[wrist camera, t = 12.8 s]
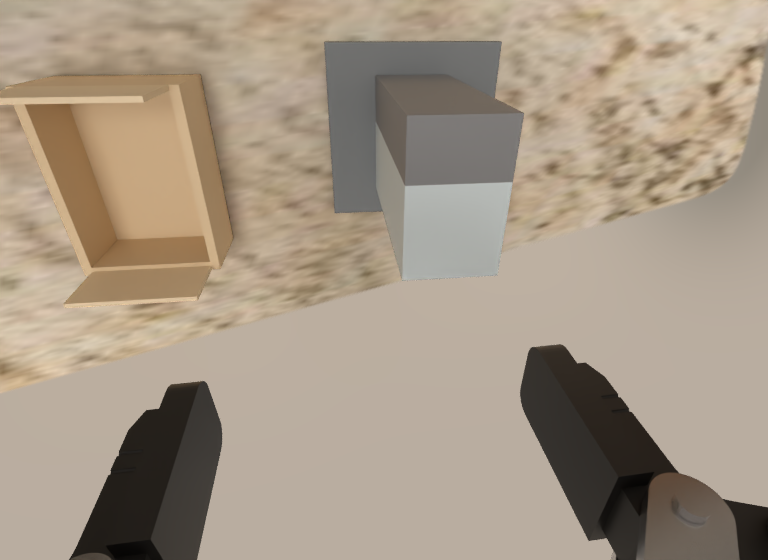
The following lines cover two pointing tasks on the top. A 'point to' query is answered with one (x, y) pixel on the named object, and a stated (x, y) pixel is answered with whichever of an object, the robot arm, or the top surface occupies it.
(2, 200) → the top surface
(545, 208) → the top surface
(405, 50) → the mat
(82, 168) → the carton
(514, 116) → the box
